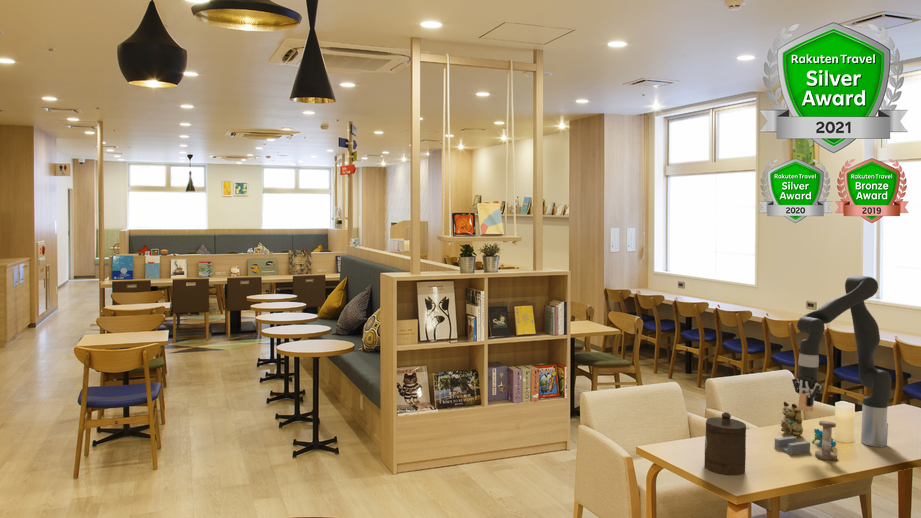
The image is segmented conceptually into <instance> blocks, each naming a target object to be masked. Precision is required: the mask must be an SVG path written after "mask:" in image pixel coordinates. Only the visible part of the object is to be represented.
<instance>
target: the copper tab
mask: <svg viewBox="0 0 921 518" xmlns="http://www.w3.org/2000/svg"><path fill="white" fill-rule="evenodd" d="M807 401H808V395H807V392H806V393H800V395H799V398H798V405H797V406H798V410H801V412H813V410H814V403H815V397H814V398H813V405H812V406H811V407H808V406H807Z"/></svg>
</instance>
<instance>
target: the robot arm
mask: <svg viewBox="0 0 921 518" xmlns="http://www.w3.org/2000/svg"><path fill="white" fill-rule="evenodd" d="M844 289H845V294H844V295H840V296H839V297H835V298H833V299H831V300H828V301H827V302H825V303H824V304H823V305H821V307H819V308H818V309H816V310H812V311H811V312H809V313H807V314H805V315H803V316H801V317H800V318H799V319H798V320H797V323H796V327H797V331H799V332H801V333H803V334H807V335H808V337H807V338H806V339H802V340H801V341H800V344H799V355H798V365H797V374H798V377H797V378H792V379H791V382H792V384H793V388H794V390H795V393H796V394H797V393H798V395H799V396H800V393H807V395H808V401H807V406H808V407H811V406H812V405H813V398H814V399H815V398H818V397H819V395H820V393H821V392H822V390H823V388H824V385H822V384H819V383H818V376H819V368H820V367H819V366H820V365H819V363H820V359H819V358H820V357H819V351H820V350H819V349H820V343H822V339H823V336H824V333H825V327H826V326H825V324H826V325H827V324H829V323H831V322H833V321H835V320H836V319H837V318H838V317H839V316H841V315H842V314H843V313H846V311H848V310H849V309H850V315H851V319H852V323H853V324H852V325H853V332H854V338H855V339H854V340H855V344H856V351H857V358H858V360H857V361H858V378H859V382H860V384H861V385H862V387H864V388H865V389H866V388H867V389H871V390H872V392H871V395H868V396H863V398H862V406H861V407H862V411H861V431H860V433H861V434H860V436H861V437H860V442H861V443H862V444H864V445H865V446H869V447H875V448H885V447H886V446H887V445H888V436H889V434H888V432H889V424H888V423H887V422H888V406H889V405H888V404H889V403H890V399H891V393H892V390H891V389H892V377H891V374H890V372H888V371H887V370H883V369H879V368H876V367H875V362H874V354H875V352H876V351H877V349H878V346H879V345H880V343H881V335H880V329H879V325H878V322H877V320H876V319H875V317H874V316H873V315H872V314H871V312H870V311H869V309H868V308H867V306H866V303H865V301H866V300H869V299H870V298H872V297H874V296H875V295H876V293H877V292H878V290H879V284H878V281H877V280H876V279H875V278H874V277H871V276H866V275H865V276H864V275H849V276H848V277H847V278H846V279H845V282H844ZM813 406H814V405H813Z"/></svg>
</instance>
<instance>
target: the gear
mask: <svg viewBox="0 0 921 518" xmlns="http://www.w3.org/2000/svg"><path fill="white" fill-rule="evenodd" d="M813 433H814V434H813V436H814V439H813V440H812V441H811V442H812V444H814V443H815V442H816V441H819V442H818V443H817V444H816V446H817V447H818V446H819V447H820V446H822V436H823V430H820V429H819V428H815V429H814V430H813ZM831 445H832V446H831V447H836V446H837V442H836V441H834V438H832V437H831Z"/></svg>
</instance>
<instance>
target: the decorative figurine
mask: <svg viewBox="0 0 921 518" xmlns="http://www.w3.org/2000/svg"><path fill="white" fill-rule="evenodd" d="M783 406H784V407H782V414H783V415H784V416H783V417H782V418H781V423H780V426H781V428H780V431H781V432H783V434H784V435H785V436H787V435H788V436H787V437H790V436H793V437H796V438H799V437H801V436H802V435H803V432H804V429H803V428H804V427H803V425H802V424H803V418H802V410H798V405H797V404H796V403H791V405H790V403H788V402H787V401H783Z"/></svg>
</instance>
